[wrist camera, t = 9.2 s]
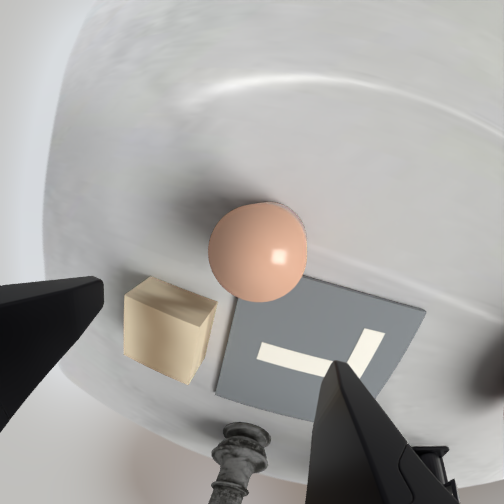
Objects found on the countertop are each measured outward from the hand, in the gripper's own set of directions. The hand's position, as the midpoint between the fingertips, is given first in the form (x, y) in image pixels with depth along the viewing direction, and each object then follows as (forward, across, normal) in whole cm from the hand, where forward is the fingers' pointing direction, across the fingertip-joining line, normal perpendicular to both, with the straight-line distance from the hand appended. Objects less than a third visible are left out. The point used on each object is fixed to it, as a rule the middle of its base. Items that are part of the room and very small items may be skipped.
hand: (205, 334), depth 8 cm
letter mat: (+12, -6, +9) cm, 16 cm away
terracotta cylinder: (+12, 0, 0) cm, 12 cm away
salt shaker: (+12, -3, +22) cm, 25 cm away
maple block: (+12, +6, +9) cm, 16 cm away
